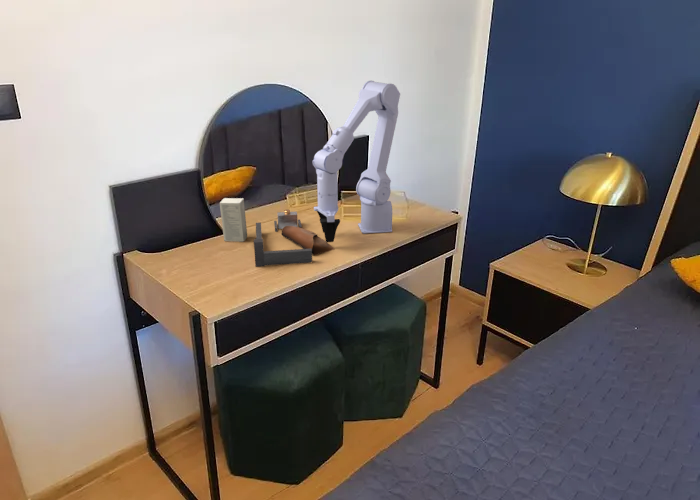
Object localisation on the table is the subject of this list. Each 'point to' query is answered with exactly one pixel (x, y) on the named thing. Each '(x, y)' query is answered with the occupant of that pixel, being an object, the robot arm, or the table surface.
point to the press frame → (278, 252)
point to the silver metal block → (287, 219)
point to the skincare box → (233, 219)
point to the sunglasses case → (306, 239)
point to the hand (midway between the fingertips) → (328, 236)
